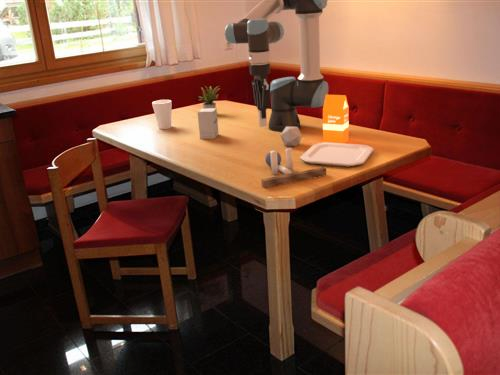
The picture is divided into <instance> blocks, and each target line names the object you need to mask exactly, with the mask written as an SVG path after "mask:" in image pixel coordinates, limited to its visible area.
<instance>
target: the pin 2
mask: <svg viewBox="0 0 500 375" xmlns="http://www.w3.org/2000/svg"><path fill="white" fill-rule="evenodd" d="M293 159H294V158H293V148H292V147H286V148H285V167H286V168H288V169H289V170H291V171H292V172H293V171H294V164H293V161H294V160H293Z"/></svg>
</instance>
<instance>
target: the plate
mask: <svg viewBox="0 0 500 375" xmlns="http://www.w3.org/2000/svg"><path fill="white" fill-rule="evenodd" d="M374 150H375V149H374V148H373V147H372V146H370V145H367V144H359V143H358V144H357V143H345V144H344V143H329V142H324V143H323V142H318V143H314V144H313V145H311V146H310V147H309V148H308V149H307V150H306V151H305V152H304V153H303V154H302V155H301V156H299V159H300V160H302V161H304V162H305V163H308V164H311V165H319V164H320V165H322V166H331V165H333V166H334V167H343V166H346V167H345V168H350V167H351V166H352V167H356V165H357V166H360V165H363V164H364V163H366V161H367V160H368V159H369V157H370V156H371V155H372V153H373V152H374ZM333 166H332V167H333Z"/></svg>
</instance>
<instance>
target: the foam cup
mask: <svg viewBox="0 0 500 375" xmlns="http://www.w3.org/2000/svg"><path fill="white" fill-rule="evenodd" d="M151 104H152V108H153V112H154V115H155V119H156V122H157V127H158V129H159V130H166V129H167V130H168V129H170V128H171V127H172V110H173V109H172V100H171V99H159V100H154V101H152V103H151Z"/></svg>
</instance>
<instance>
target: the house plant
mask: <svg viewBox="0 0 500 375" xmlns="http://www.w3.org/2000/svg"><path fill="white" fill-rule="evenodd" d="M204 87H205V88H206V90H205V89H204ZM204 87H200V88H201V90H202V96H198V98H200V99H198V101H202V102H203V103H202V106H203V108H202V109H206V108H217V107H216V106H217V105H216V104H217V102H214V101H217V99H219V98H218V96H219V95H220V93H219V94H216V93H217V92H218V91H219V90H220V89H221V88H219V87H220V85H218V86H216V87H214V89H213V88H212V86H209V87H207V86H206V85H204ZM208 88H209V89H208ZM206 91H207V92H206Z"/></svg>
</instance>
